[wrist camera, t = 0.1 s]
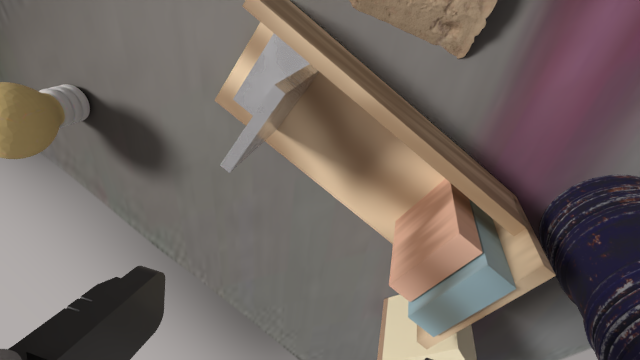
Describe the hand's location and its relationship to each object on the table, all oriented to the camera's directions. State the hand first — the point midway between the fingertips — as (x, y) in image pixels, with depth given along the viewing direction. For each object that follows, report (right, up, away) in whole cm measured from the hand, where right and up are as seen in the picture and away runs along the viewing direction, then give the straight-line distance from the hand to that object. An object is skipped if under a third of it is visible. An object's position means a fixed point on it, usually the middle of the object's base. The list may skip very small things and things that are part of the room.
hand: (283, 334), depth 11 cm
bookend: (-2, +13, +19) cm, 23 cm away
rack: (+5, +8, +21) cm, 23 cm away
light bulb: (-24, +13, +26) cm, 37 cm away
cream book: (+12, -8, +27) cm, 31 cm away
